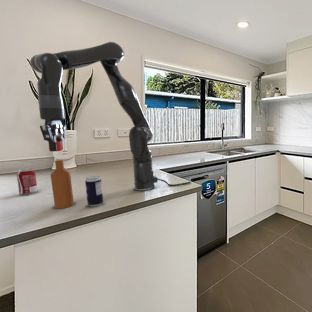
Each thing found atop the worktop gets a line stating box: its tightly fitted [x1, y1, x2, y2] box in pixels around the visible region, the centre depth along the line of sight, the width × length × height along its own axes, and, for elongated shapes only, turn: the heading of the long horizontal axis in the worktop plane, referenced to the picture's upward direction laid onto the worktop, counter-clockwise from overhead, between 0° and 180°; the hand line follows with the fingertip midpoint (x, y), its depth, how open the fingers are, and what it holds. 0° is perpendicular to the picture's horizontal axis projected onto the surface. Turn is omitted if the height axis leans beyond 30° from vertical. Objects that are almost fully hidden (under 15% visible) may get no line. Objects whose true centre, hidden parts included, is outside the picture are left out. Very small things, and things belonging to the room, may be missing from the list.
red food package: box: [16, 168, 39, 196], centre depth 109 cm, size 7×7×12 cm
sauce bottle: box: [50, 159, 75, 209], centre depth 92 cm, size 6×6×20 cm
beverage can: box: [84, 175, 104, 207], centre depth 94 cm, size 6×6×12 cm
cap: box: [47, 141, 63, 152], centre depth 90 cm, size 4×4×4 cm
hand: (56, 150), depth 90 cm, fingers closed on cap, 4 cm apart
